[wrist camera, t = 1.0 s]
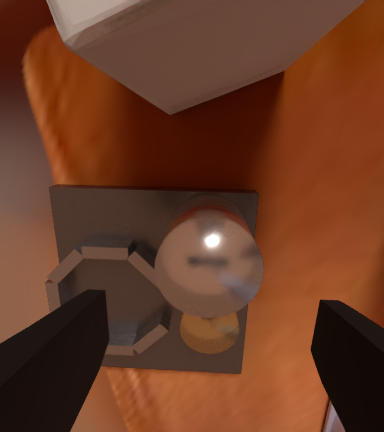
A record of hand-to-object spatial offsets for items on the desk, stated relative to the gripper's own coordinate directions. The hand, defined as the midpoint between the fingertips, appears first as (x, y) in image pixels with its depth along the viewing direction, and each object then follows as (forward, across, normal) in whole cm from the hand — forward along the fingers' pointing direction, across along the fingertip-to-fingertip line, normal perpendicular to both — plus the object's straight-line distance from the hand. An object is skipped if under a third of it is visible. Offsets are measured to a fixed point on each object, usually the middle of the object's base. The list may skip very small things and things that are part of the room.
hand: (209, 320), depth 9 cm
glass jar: (+8, 0, 0) cm, 8 cm away
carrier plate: (+9, +4, +4) cm, 11 cm away
